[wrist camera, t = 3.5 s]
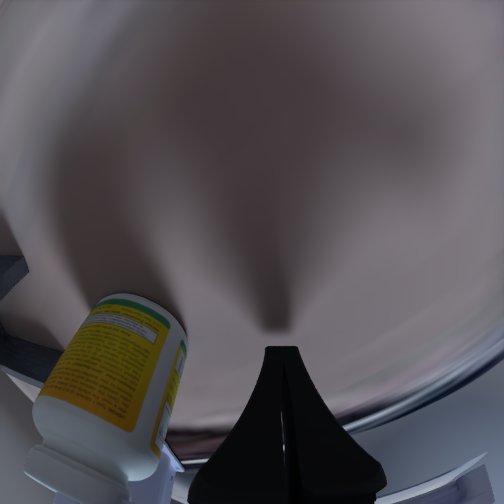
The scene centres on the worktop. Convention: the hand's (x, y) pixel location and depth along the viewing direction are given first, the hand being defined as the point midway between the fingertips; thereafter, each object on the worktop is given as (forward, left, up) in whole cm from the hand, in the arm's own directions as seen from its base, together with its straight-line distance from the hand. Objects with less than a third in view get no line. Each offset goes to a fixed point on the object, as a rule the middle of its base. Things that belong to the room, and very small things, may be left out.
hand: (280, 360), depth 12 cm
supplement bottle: (0, +7, -2) cm, 7 cm away
